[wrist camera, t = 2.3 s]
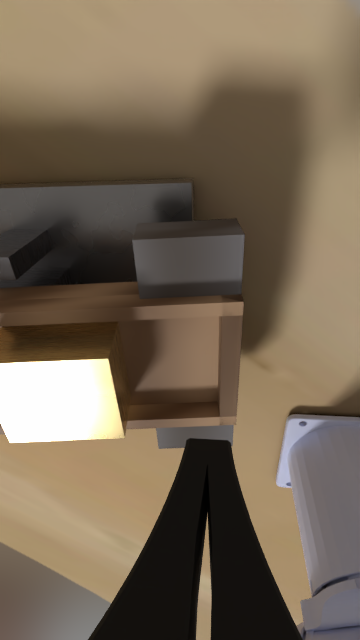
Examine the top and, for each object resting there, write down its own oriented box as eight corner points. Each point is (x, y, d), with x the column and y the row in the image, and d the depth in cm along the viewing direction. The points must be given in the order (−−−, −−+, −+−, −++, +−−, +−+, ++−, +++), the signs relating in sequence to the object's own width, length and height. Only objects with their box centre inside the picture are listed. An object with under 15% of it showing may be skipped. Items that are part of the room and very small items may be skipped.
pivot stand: (193, 178, 15) (183, 203, 11) (198, 398, 23) (193, 458, 19) (-122, 188, 17) (-222, 212, 13) (-20, 389, 25) (-65, 442, 21)
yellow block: (117, 321, 14) (108, 358, 12) (131, 395, 17) (124, 438, 14) (1, 326, 14) (-29, 364, 12) (31, 400, 17) (10, 442, 15)
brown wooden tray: (236, 218, 14) (247, 240, 11) (227, 416, 20) (234, 455, 18) (-248, 242, 14) (-328, 268, 12) (-105, 430, 20) (-140, 470, 18)
